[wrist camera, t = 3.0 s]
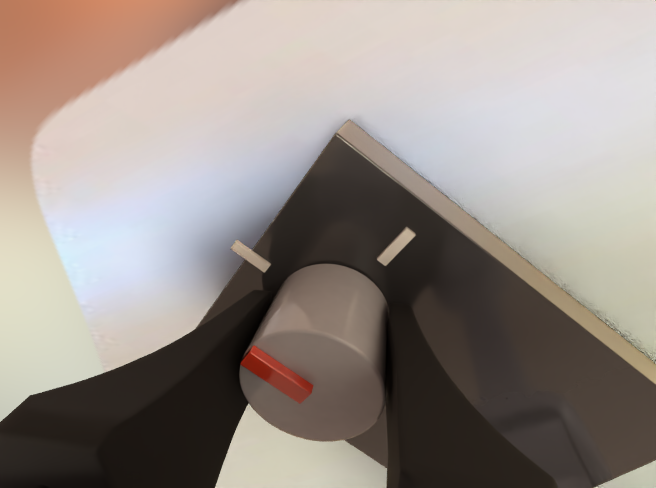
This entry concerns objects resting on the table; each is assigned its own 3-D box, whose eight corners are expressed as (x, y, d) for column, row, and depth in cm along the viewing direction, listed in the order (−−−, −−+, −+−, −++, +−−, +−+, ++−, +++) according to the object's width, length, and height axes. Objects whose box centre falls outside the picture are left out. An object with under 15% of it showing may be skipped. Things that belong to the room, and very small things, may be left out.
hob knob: (414, 310, 12) (420, 403, 9) (342, 374, 14) (324, 471, 11) (318, 239, 12) (285, 309, 8) (256, 315, 14) (208, 397, 10)
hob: (661, 368, 15) (722, 438, 12) (475, 470, 19) (488, 538, 17) (335, 107, 13) (317, 119, 10) (210, 289, 17) (173, 332, 15)
